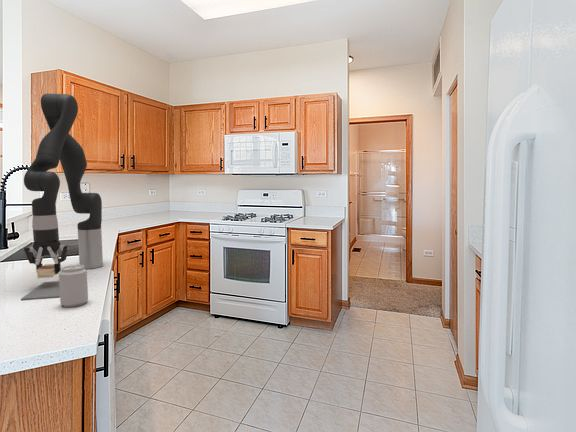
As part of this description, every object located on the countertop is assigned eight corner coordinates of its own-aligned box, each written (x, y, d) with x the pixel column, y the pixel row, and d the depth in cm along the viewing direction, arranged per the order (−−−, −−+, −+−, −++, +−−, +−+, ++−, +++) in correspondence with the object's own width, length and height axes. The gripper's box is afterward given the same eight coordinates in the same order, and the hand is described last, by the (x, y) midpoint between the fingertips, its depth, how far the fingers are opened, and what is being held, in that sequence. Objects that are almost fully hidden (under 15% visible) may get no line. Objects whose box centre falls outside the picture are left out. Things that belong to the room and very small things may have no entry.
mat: (44, 283, 133) (44, 281, 133) (85, 280, 137) (85, 279, 137) (21, 300, 114) (20, 298, 114) (70, 296, 118) (69, 295, 118)
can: (56, 308, 107) (54, 270, 106) (65, 300, 114) (63, 264, 113) (84, 306, 109) (82, 268, 108) (91, 298, 116) (89, 263, 115)
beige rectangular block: (46, 272, 132) (45, 263, 131) (60, 271, 133) (59, 262, 133) (37, 278, 124) (36, 269, 124) (52, 277, 125) (51, 268, 125)
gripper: (71, 225, 132) (74, 269, 134) (26, 226, 128) (30, 272, 130) (64, 228, 125) (68, 275, 127) (17, 229, 121) (21, 278, 123)
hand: (48, 273), depth 128 cm, fingers closed on beige rectangular block, 4 cm apart
